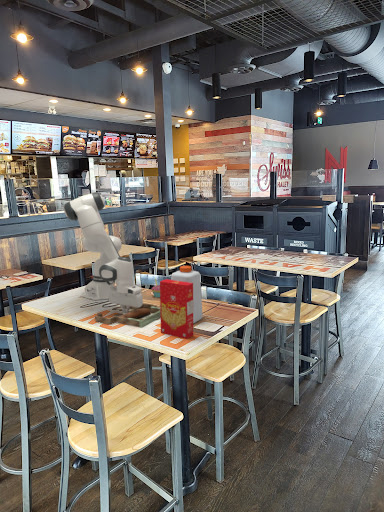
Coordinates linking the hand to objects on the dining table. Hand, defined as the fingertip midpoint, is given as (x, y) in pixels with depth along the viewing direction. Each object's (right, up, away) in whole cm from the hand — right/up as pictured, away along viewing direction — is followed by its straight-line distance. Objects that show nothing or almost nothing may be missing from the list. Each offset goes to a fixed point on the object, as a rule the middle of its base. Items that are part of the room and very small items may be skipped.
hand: (125, 312), depth 206 cm
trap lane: (+4, -2, -1) cm, 4 cm away
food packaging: (+28, -6, -26) cm, 39 cm away
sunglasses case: (+4, -3, -2) cm, 5 cm away
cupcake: (+14, +5, +37) cm, 40 cm away
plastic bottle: (+32, -3, -5) cm, 33 cm away
